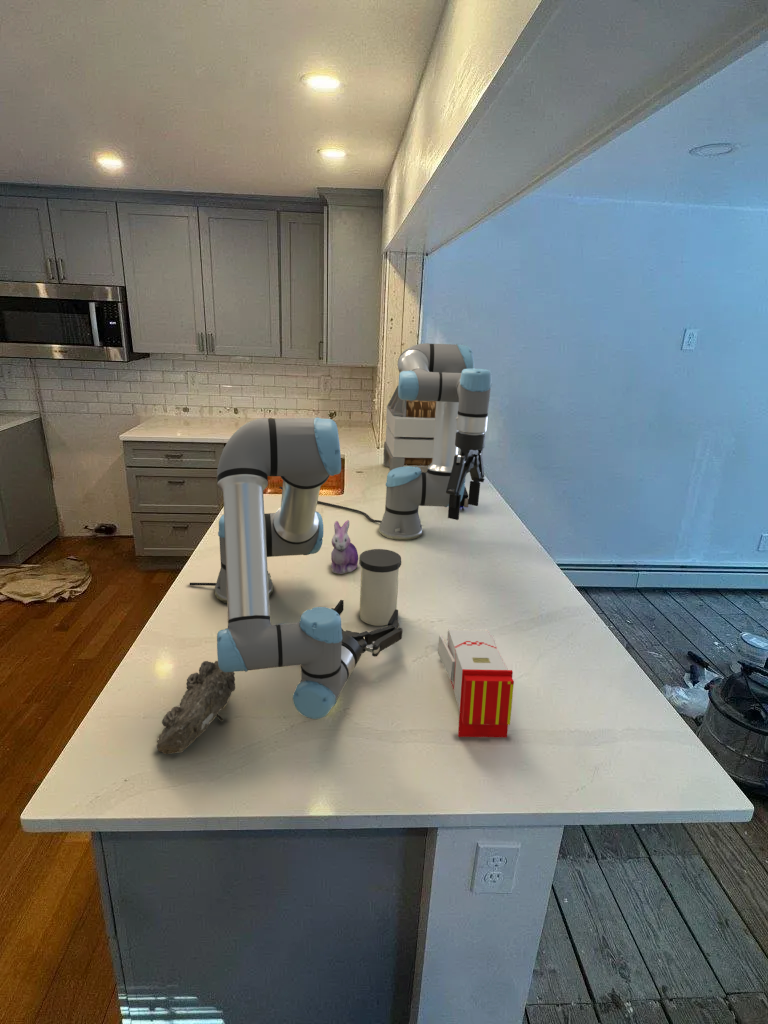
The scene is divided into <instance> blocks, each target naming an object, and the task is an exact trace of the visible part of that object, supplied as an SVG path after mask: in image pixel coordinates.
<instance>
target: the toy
mask: <svg viewBox="0 0 768 1024" xmlns="http://www.w3.org/2000/svg"><path fill="white" fill-rule="evenodd" d="M446 640H447V643H446V641H445V639H444V636H443V635H442V634H439V637H438V646H437V656H438V657H439V659H440V661H441V663H442V666H443V668H444V670H445V672H446V674H447V677H448V679H449V681H450V684H451V687H452V690H453V693H454V697H455V701H456V705H457V708H458V711H459V714H458V715H459V716H458V730H457V731H458V732H457V737H458V738H508V731H509V726H510V725H511V717H512V707H513V697H514V696H513V695H514V684H515V680H514V679H513V673H514V671H513V670H512V669H508V667H507V665H506V662H505V661H504V659H503V658H502V655H501V653H500V651H499V649H498V647H497V643H496V639H495V637H494V635H493V634H491V632H490V631H489V629H467V628H466V629H465V628H463V629H461V628H460V629H459V628H448V630H447V639H446Z"/></svg>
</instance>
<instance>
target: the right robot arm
mask: <svg viewBox="0 0 768 1024" xmlns="http://www.w3.org/2000/svg"><path fill="white" fill-rule="evenodd" d="M474 360H475V359H474V354H473V350H472V348H471V347H470V346H469V345H465V344H458V343H456V344H453V343H452V344H451V343H429V342H424V343H418V344H415V345H412V346H409V347H408V348H406V349H405V350H403V351H402V352H401V353H400V354H399V357H398V359H397V370H398V373H399V375H398V385H397V386H398V396H399V398H400V399H402V400H410V401H436V411H435V426H434V442H433V457H432V463H431V464H430V465H428V466H426V472H424V471H423V472H422V469H421V468H420V467H419V466H407V465H404V467H398V468H395V469H392V470H391V471H390V470H389V471H388V473H387V475H386V482H385V487H386V488H385V489H386V490H385V504H384V505H385V507H384V508H385V509H384V513H383V515H382V519H381V520H379V519H373V518H372V517H371V516H370V515H368V514H367V513H366V512H364V511H363V510H359V509H356V508H351V507H347V506H344V505H343V506H342V505H338V504H334V503H330V502H324V501H322V500H321V501H320V500H318V501H317V504H321V505H325V506H329V507H334V508H338V509H343V510H346V511H351V512H355V513H358V514H361V515H364V517H366V518H367V520H368V521H370V522H373V523H377V524H378V523H379V525H378V533H379V534H380V535H381V536H382V537H385V538H387V539H389V540H395V541H410V540H415V539H418V538H420V537H421V536H422V535H423V525H422V524H421V518H420V515H419V507H441V508H442V507H444V508H448V512H447V519H451V520H456V521H458V520H460V512H461V511H460V510H461V508H460V502H461V500H462V497H463V493H464V488H465V487H466V477H467V475H468V474H469V475H470V478H471V479H470V481H469V488H468V489H469V490H468V504H469V505H468V506H473V507H478V506H479V500H480V492H481V491H480V490H481V483H484V482H485V469H484V468H485V467H484V456H483V451H484V449H485V447H486V446H485V445H486V437H487V435H486V432H487V428H488V420H489V419H488V418H489V416H488V415H489V407H490V399H491V398H490V397H491V390H492V387H493V386H492V385H493V383H492V375H493V374H492V372H491V371H490V370H489V369H486V368H485V369H484V368H475V361H474ZM458 448H460V449H461V451H460V455H458ZM278 487H279V489H280V490H282V488H283V486H278Z"/></svg>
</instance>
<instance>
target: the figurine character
mask: <svg viewBox="0 0 768 1024" xmlns="http://www.w3.org/2000/svg"><path fill="white" fill-rule="evenodd" d="M468 497H469V492H468V490H467V488H466V486H465V488H464V493H463V497H462V500H461V502H460V509H461V511H462V512H464V511H465V508H469V506H470V505H469V504H468Z"/></svg>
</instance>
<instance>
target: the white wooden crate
mask: <svg viewBox="0 0 768 1024" xmlns="http://www.w3.org/2000/svg"><path fill="white" fill-rule="evenodd" d="M435 411H436V401H410V400H402V399H400V398H399V396H398V385H397V386H396V388H395V390H394V392H393V394H392V395H391V398H390V400H389V402H388V404H387V405H386V413H385V414H386V415H385V423H386V428H385V438H384V442H383V466H384V467H388V468H389V472H390V471H391V470H392V469H395V468H398V467H405V466H413V467H428V466H429V465H430V464H431V463H432V457H433V442H434V426H435ZM460 451H461V449H460V448H458V455H460Z"/></svg>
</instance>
